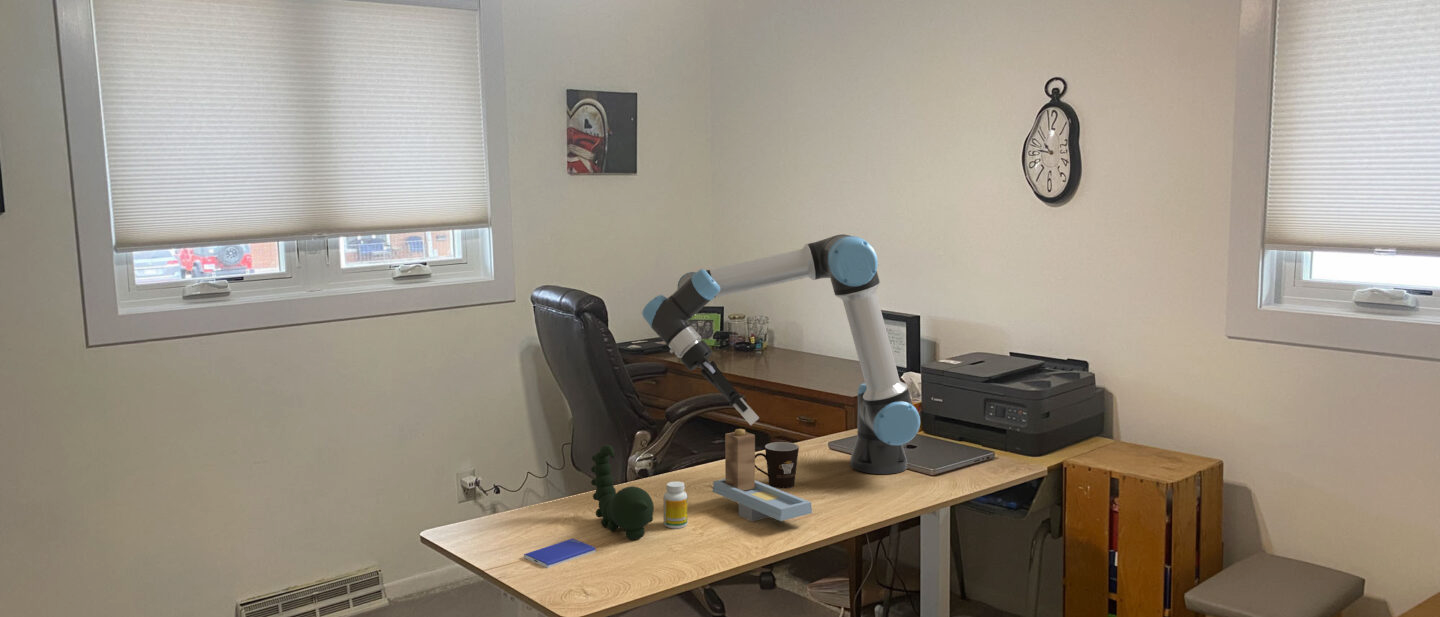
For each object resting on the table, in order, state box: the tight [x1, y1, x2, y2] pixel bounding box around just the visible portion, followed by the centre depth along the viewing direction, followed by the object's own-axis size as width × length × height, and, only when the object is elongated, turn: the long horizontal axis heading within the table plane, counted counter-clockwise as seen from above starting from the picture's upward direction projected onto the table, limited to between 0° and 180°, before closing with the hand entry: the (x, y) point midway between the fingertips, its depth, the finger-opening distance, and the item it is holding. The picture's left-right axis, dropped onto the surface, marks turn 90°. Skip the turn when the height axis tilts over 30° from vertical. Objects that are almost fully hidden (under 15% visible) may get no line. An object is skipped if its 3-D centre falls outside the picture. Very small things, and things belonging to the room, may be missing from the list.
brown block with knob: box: [724, 428, 756, 491], centre depth 245 cm, size 5×5×14 cm
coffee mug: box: [755, 441, 800, 489], centre depth 262 cm, size 12×9×10 cm
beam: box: [712, 478, 813, 522], centre depth 239 cm, size 26×9×6 cm, turn 35°
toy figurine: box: [590, 444, 655, 541], centre depth 228 cm, size 9×19×25 cm
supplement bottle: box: [663, 480, 688, 530], centre depth 232 cm, size 5×5×10 cm
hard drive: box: [523, 538, 597, 569], centre depth 215 cm, size 2×8×12 cm
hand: (754, 421), depth 248 cm, fingers closed
